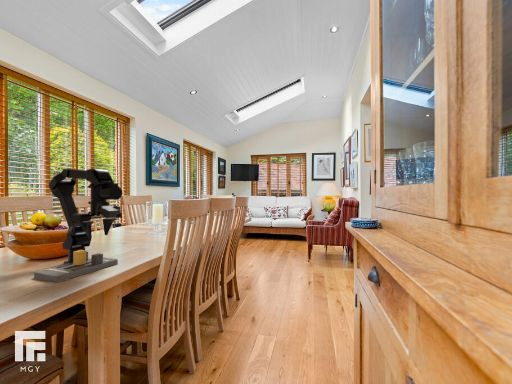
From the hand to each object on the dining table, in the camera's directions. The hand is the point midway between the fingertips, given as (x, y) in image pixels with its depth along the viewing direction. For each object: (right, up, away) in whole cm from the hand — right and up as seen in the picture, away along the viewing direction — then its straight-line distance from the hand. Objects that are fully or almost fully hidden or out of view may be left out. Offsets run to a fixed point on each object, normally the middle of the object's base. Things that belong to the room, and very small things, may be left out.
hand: (98, 236), depth 106 cm
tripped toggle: (-3, -9, -7) cm, 12 cm away
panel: (-3, -12, -7) cm, 14 cm away
